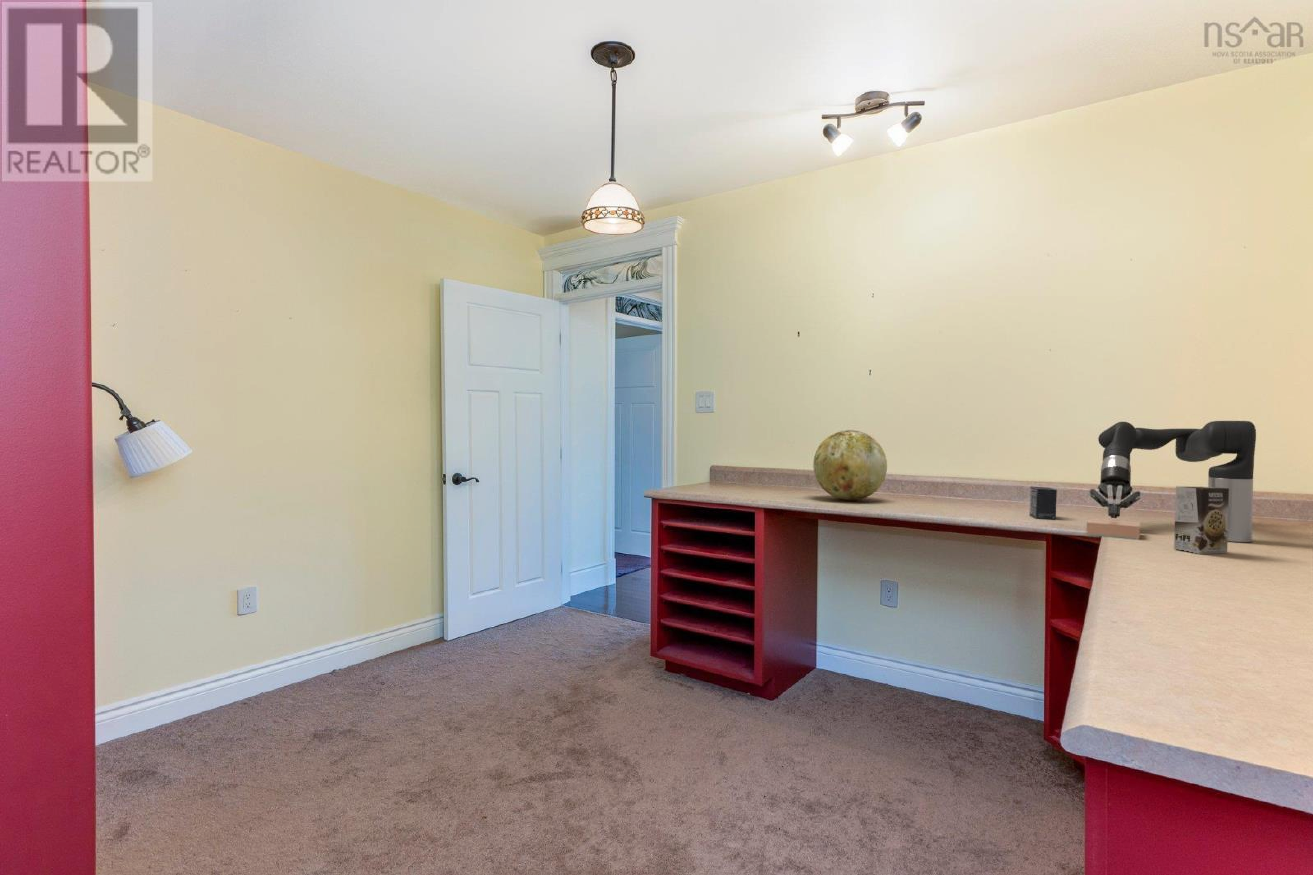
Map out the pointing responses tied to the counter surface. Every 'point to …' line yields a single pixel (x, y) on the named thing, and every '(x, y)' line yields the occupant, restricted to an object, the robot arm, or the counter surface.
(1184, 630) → the counter surface
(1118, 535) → the tile
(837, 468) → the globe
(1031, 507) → the small box
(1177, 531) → the coffee box
